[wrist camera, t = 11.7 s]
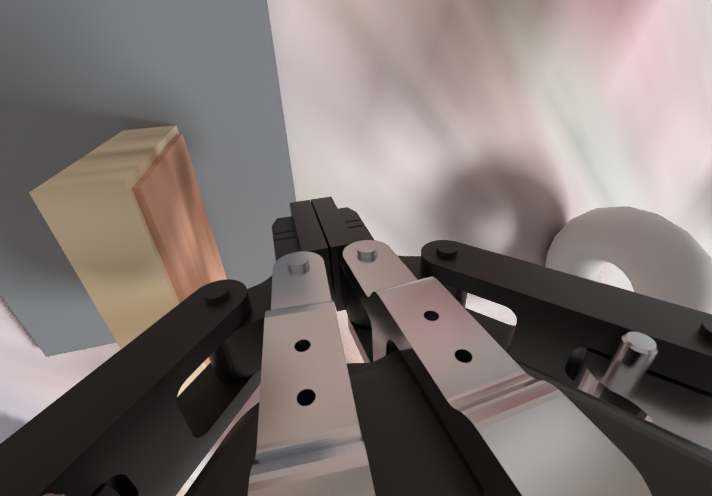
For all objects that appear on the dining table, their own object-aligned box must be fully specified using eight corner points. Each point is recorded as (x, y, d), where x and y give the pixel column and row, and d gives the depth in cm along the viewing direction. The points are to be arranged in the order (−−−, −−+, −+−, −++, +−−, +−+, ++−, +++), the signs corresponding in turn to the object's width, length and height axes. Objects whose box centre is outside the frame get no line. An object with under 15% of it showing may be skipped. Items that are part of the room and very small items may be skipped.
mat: (-298, -131, 9) (-331, -141, 8) (249, -109, 12) (249, -117, 11) (52, 348, 18) (46, 356, 18) (309, 296, 21) (310, 303, 21)
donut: (551, 186, 22) (738, 273, 13) (596, 178, 22) (800, 256, 14) (520, 305, 27) (640, 420, 19) (557, 296, 28) (689, 403, 19)
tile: (123, 130, 14) (29, 192, 8) (181, 124, 14) (132, 179, 8) (190, 301, 18) (162, 419, 13) (232, 293, 19) (224, 404, 13)
